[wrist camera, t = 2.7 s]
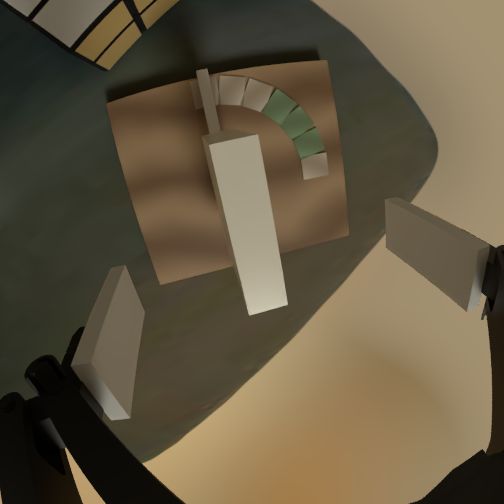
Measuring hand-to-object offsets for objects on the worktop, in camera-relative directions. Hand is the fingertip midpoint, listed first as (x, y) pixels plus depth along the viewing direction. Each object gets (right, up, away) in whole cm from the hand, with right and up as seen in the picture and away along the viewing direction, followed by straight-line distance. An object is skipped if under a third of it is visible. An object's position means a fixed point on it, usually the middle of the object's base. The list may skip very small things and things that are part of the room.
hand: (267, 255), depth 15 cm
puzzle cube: (-14, +23, +5) cm, 27 cm away
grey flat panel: (-3, +8, +12) cm, 15 cm away
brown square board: (-2, +8, +14) cm, 16 cm away
